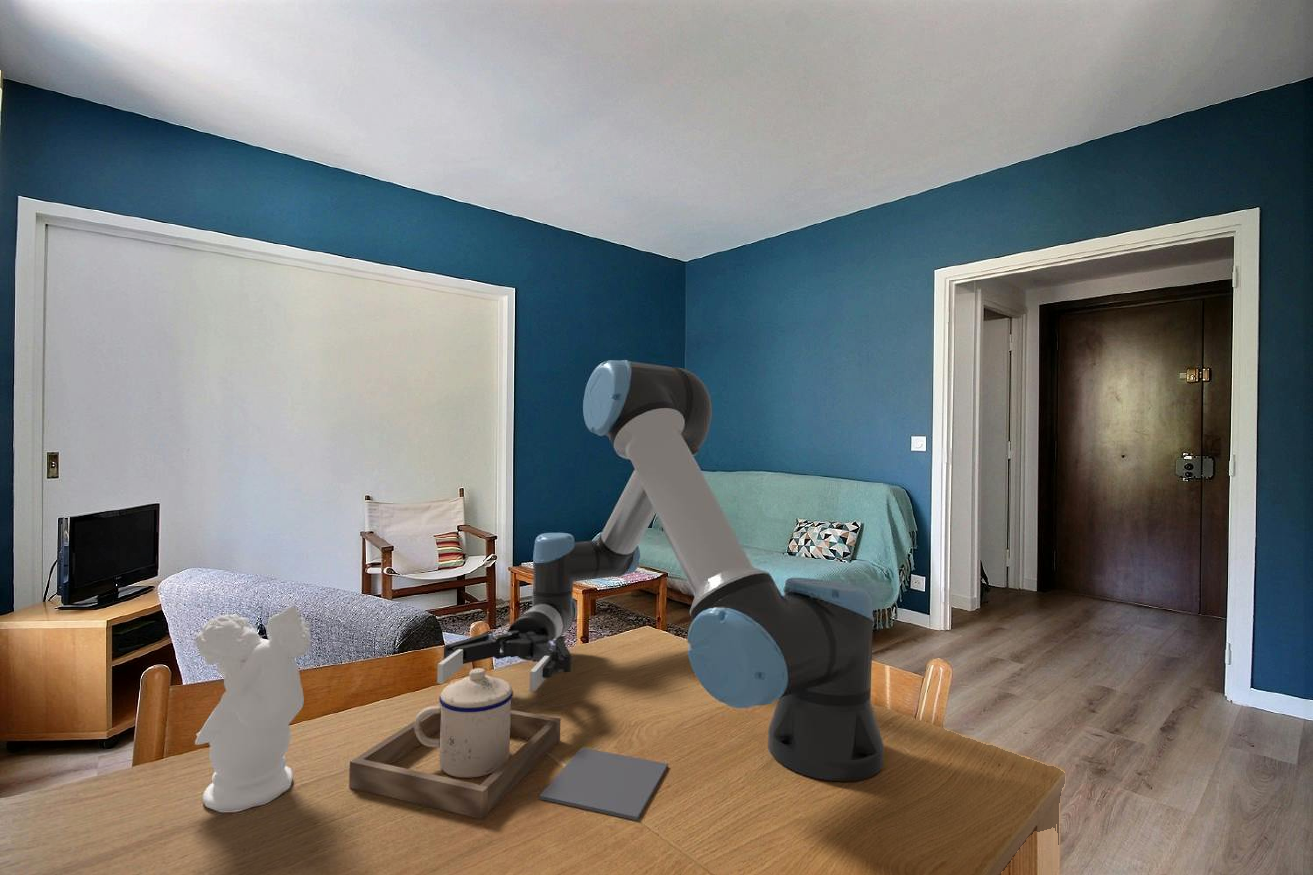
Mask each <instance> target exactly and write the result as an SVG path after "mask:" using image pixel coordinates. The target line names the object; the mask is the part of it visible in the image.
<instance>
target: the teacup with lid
mask: <svg viewBox="0 0 1313 875" xmlns="http://www.w3.org/2000/svg"><path fill="white" fill-rule="evenodd" d="M468 675H469V676H468ZM468 675H467V676H465V677H464V678H462V679H460V680H459V679H458V680H456V681H453V682H451V683H449V684H448V685H447V686H446V687H444V688H443V690H442V691H441V693H440V696H439V703H440V705H441V706H439V705H431V706H427V707H425V708H423V709H421V710H420V711H419V713H418V714H417V715H416V717H415V720H414V721H415V723H414V730H415V734H416V736H417V738H418V740H419V741H420V742H421V743H422V744H421V745H424V746H426V747H429V748H439V761H438V763H439V766H440V769H441V771H443V772H444V773H446V774H447V775H449V776H453V777H455V778H465V779H470V778H480V777H484V776H487V775H491V774H493V773H494V772H495V771H496V770H497V769H498V768H499V767H500V766H501V765H503V764H504V763H505V762H506V761H507V760H508V759H509V758H510V748H511V747H510V745H511V744H510V742H511V741H510V740H511V737H510V736H511V735H510V713H511V710H512V709H511V708H512V707H511V706H512V705H511V704H512V698H513V696H514V691H513V688H512V686H511V684H510V683H509V682H508V681H506V680H504V679H502V678H500V677H499V678H498V677H493V676H490V675H488V674H486V670H485V669H484V668H482V667H481V668H480V667H477V668H476V667H475V668H473V669H471V670H470V671H469V674H468ZM429 714H441V726H440V731H439V738H431V737H430V738H428V737H427V736H426V735H425V734H424V733H423V731H422V729H421V725H420V721H421V719H422V718H423V717H425V716H426V715H429Z"/></svg>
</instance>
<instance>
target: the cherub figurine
mask: <svg viewBox="0 0 1313 875" xmlns="http://www.w3.org/2000/svg"><path fill="white" fill-rule="evenodd" d="M300 616H301V611H300V610H297V605H296V603H294V604H292V605H291V606H288V607H287V608H286V609H284V610H283V611H281V612H280V613H277V614H274V615H273V616H271V617H270V618H269V619H268V620H267V623H266V624H267V625H266V632H267V634H264V635H259V634H258V632H257V631H256V629H255V628H254V626H253V625H252V624H251V623H249V621H250V619H249V618H248V617H241V616H238V614H237V613H234V614H233V613H232V614H228V613H226V614H219V615H217V616H216V617H215V618H214V617H213V618H211V619H209V621H207V622H206V623H205V624H204V625H202V626H201V629H200V631H199V632H198V634H196V635H195V638H194V644H195V645H196V647H197V650H198V653H199V656H200V657H202V658H204V661H205V663H206V664H207V665H215V664H217V668H216V670H217V673H218V674H219V675H220V676H222V677H224V678H223V685H224V689H225V692H223V694H222V696H221V698H220V700H219V702H218V704H217V705H216V706H215V707H214V709H213V710H212V712H211V714H210V715H209V717H208V718H207V720H206V721H205V723H204V724H203V726H202V728H201V729H200V731H199V732H197V733H196V734H195V736H196V739H195V741H194V745H195V746H196V745H199V746H200V745H203V744H206V743H208V745H209V751H208V753H209V754H208V757H209V761H210V764H211V766H212V769H213V770H214V772H213V774H212V777H211V782H212V783H210V784H209V785H208V786H207V787H206V789H205V790H204V792H203V794H202V801H203V803H204V806H205V807H207V808H208V809H211V810H214V811H216V812H219V813H238V812H241V811H244V810H248V809H250V808H253V807H258V806H262V805H267V804H268V803H271V801H273V800H275V799H277V798H278V797H279V796H280V795H282V794H283V793H285V792H286V791H287V790H289V789H290V787H291V786H292V783H293V778H294V773H293V770H292V768H290V767H289V766H287V759H286V757H285V754H286V752H288V751H287V750H288V749H289V746H290V740H291V727H290V723H292V722H293V720H294V719H295V717H296V716H297V715H298V713H300V712H301V710H302V708H303V706H304V698H305V696H304V691H303V686H302V682H301V677H300V670H299V665H298V663H297V661H296V658H297V657H298V658H301V657H302V656H305V655H306V654H307V653H308V652H309V651H311V649H312V646H311V645H312V641H311V640H312V639H311V633H310V631H311V628H309V627H310V623H309V621H307V619H306V618H305V617H300ZM306 621H307V622H306ZM264 636H267V637H268V639H265V638H263V637H264Z"/></svg>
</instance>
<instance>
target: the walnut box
mask: <svg viewBox="0 0 1313 875" xmlns="http://www.w3.org/2000/svg"><path fill="white" fill-rule="evenodd" d="M438 706H441V704H440V705H438ZM414 723H415V720H414V721H413V722H411V723H409V724H408V725H405V727H403V728H402V729H400V730H398V731H396V732H395V733H393V734H391V735H390V736H389V737H387V738H385V739H384V740H382V741H381V742H379V743H377V744H376V745H374V746H372V747H371V748H369V749H368V750H367V751H365V752H363V753H362V754H360V755H358V756H356V757H355V758H353V759H352V760H350V761H349V777H348V778H349V780H348V788H351V789H355V790H359V791H362V792H366V793H371V794H376V795H378V796H379V795H380V796H383V797H388V798H393V799H396V800H401V801H406V802H410V803H412V804H418V805H422V806H425V807H430V808H434V809H439V810H442V811H447V812H451V813H455V814H459V815H463V816H468V817H471V818H476V819H480V820H483V818H485V817H486V816H487V815H488V814H489V813H490V812H491V811H492V810H493V809H494V808H495V807H496V806H497V804H498V803H500V801H502V800H503V799H504V797H505V796H507V795H508V793H510V792H511V790H512V789H513V788H514V787H516V785H517V784H519V782H520V781H521V780H522V779H524V778H525V777H526V776H527V774H528V773H529V772H530V771H532V769H533V768H535V766H536V765H537V764H538V763H539V762H540V761H541V760H543V758H544V757H545V756H546V755H547V754H548V753H549V752H550V751H551V750H552V749H553V748H554V747H555V746H556V745H557V744H558V743H559V742H560V741H561V718H560V717H552V716H548V715H543V714H536V713H531V712H526V711H525V712H524V711H520V710H519V711H518V710H513V709H511V713H510V736H515V737H519V738H523V739H524V738H525V739H529V740H528V741H526V743H525V744H523V745H522V746H520V748H519V749H518V750H517V751H516V752H515V753H513V754H512V755H511V756H509V758H508V760H507V761H506V762H505V763H504V764H503V765H501V766H500V767H499V768H498V769H497V770H496V771H495V772H493V773H491V774H489V776H488V777H487V778H486V779H484V781H483V782H482V783H481V784H477V783H473V782H469V781H464V780H459V779H455V778H452V777H451V778H450V777H446V776H443V775H442V776H440V775H437V774H432V773H427V772H425V771H424V772H423V771H419V770H414V769H410V768H409V769H408V768H405V767H400V766H396V765H393V764H395V762H396V763H397V761H399V760H400V759H401V758H403V757H404V756H406V755H408V754H409V753H410V752H412V751H413V750H414V749H416V748H418V747H419V746H420V745H423V744H422V743H421V742H420V741H419V740H418V738H417V736H416V734H415V730H414ZM420 725H421V729H422V731H423V733H424V734H425V735H426V736H427V737H428V738H431V737H432V738H433V736H435V735H436V734H438V733H440V726H441V714H429V715H426V716H425V717H423V718H422V719H421V721H420Z"/></svg>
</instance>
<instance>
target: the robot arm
mask: <svg viewBox="0 0 1313 875" xmlns="http://www.w3.org/2000/svg"><path fill="white" fill-rule="evenodd" d="M589 376H590V377H589V378H588V381H587V383H586V387H585V390H584V395H583V396H584V397H583V402H582V403H583V405H582V409H583V410H582V411H583V412H582V413H583V419H584V423H585V426H586V427H587V429H588V430H589V431H590V433H592V434H596V435H597V436H600V437H602V436H607V437H608V439H609V440H610V443H611V445H612V447H613V449H614V451H615V453H616V454H617V455H618V456H619V457H621V458H623V459H625V460H630V461H631V464H632V466H633V468H634V470H633V471H632V474H631V476H630V477H629V479H628V482H627V483H626V485H625V487H624V489H623V491H622V493H621V495H620V497H619V499H618V501H617V503H616V504H615V506H614V508H613V511H612V512H611V515H610V517H609V518H608V520H607V522H606V524H605V526H604V528H603V529H602V531H601V533H600V535H599V536H598V538H597V539H596V540H588V541H586V540H585V541H575V537H574V536H573V535H572V534H570V533H567V532H566V533H565V532H544V533H540V534H539V535H538V536H537V537H536V538H535V540H534V548H533V557H532V560H533V563H532V564H533V566H532V567H533V576H532V578H533V579H532V580H533V583H532V585H533V586H532V596H531V597H532V599H531V600H532V602H531V604H532V606H531V607H530V608H529V609H528V610H526V611H525V612H524V613H523V614H521V615H520V616H519V617H518V618H516V619H515V620H514V621H513V622H512V623H511V625H510V626H509V628H508V630H507V632H506V633H502V634H499V635H498V634H497V635H494V632H493V631H492V630H486V631H485V632H483V633H481V634H479V635H476V636H472V637H469V638H465V639H461V640H459V641H455V642H452V643H449V644H445V645H444V646H443V658H442V660H441V661H440V662H439V663H437V680H436V681H437V682H436V683H437V684H444V683H445V682H446V681H447V680H449V678H452V676H453V675H455V674H456V673H457V672H459V671H460V670H461V669H462V668H463V667H464V666H463V665H464V664H469V663H473V662H478V661H481V660H486V659H487V660H488V659H490V658H495V659H496V660H500V659H504V658H505V659H506V658H508V657H510V658H514V657H517V658H518V659H521V660H524V661H531V662H533V663H536V664H535V666H533V668H532V669H531V670H530V671H529V692H536V691H537V689H538V688H539V687H540V686H541V684H542V683H543V682H544V681H545V679H550V678H552V677H553V676H554V674H557V673H559V671H562V672H563V673H565V674H569V673H571V671H572V654H571V653H570V650H569V649H568V647H567V645H566V643H565V641H566V640H565V638H566V637H565V636H563V634H565V633H566V632H568V631H569V630H570V629H571V627H572V625H573V623H574V622H575V620H576V617H577V615H578V606H577V603H576V601H575V599H574V596H573V591H574V590H573V588H574V583H577V582H582V581H589V580H597V579H606V578H618V577H622V576H624V575H629V574H633V573H634V572H635V571H636V570H637V569H638V568H639V565H640V559H641V552H640V551H641V550H640V548H639V543H640V542H641V540H642V538H643V537H644V535H645V532H646V531H647V530H648V528H649V526H650V524H651V523H652V521H653V519H654V517H655V515H656V518H657V520H658V521H659V524H660V525H661V528H662V530H663V533H664V534H665V537H666V539H667V541H668V542H669V545H670V547H671V549H672V551H673V554H674V556H675V557H676V560H677V562H678V564H679V567H680V569H681V570H682V573H683V576H684V577H685V578H686V581H687V584H688V586H689V588H690V590H691V592H692V594H693V596H694V598H693V600H692V604H691V606H690V610H689V615H690V618H691V620H692V622H691V624H690V626H689V629H688V632H687V639H686V640H687V643H688V644H689V645H690V646H689V647H688V649H687V655H688V660H689V663H690V666H691V667H692V671H693V672H694V674H695V677H696V679H698V681H699V683H700V685H701V686H702V687H703V688H704V690H705V691H706V692H707V693H708V694H709V695H710V696H711V697H712V698H714V699H715V700H716V701H718V702H720V703H722V704H725V705H726V706H728V707H731V708H735V709H749V708H753V707H756V706H767V705H771V704H772V703H774V702H775V701H777V703H776V707H775V709H774V712H773V715H772V717H771V720H770V723H769V726H768V730H767V732H768V733H767V737H768V738H767V747H768V750H769V753H770V755H771V756H772V757H773V758H774V760H776V761H777V762H778V763H780V764H781V765H783V767H786V768H787V769H790V770H792V771H794V772H795V773H798V774H801V775H804V776H806V777H807V776H808V777H810V778H814V779H819V780H824V781H830V782H831V781H832V782H857V781H861V780H865V779H868V778H869V779H870V778H871V777H874V776H875V775H877V774H878V773H879V772H880V771H881V770H882V769H883V766H884V742H883V739H882V736H881V732H880V729H879V726H878V725H879V724H878V722H877V719H876V715H875V712H874V708H873V706H872V700H871V698H872V697H871V694H872V663H873V662H872V660H873V658H872V657H873V635H874V634H873V632H874V629H873V628H874V622H875V617H874V616H873V613H874V612H873V610H874V609H873V599H872V596H871V595H870V593H869V592H867V591H866V590H865V589H863V588H860V587H857V586H854V585H852V584H847V583H841V582H838V581H837V582H836V581H831V580H827V579H826V580H825V579H817V578H810V577H808V578H807V577H789V578H787V579H786V580H785V584H784V587H783V592H784V594H782V593H781V592H780V589H779V588H778V586H777V584H776V582H775V580H774V579H773V577H772V574H771V573H770V572H769V571H766V570H763V569H760V568H757V567H753V564H752V562H751V560H750V558H749V557H748V556H747V554H746V552H745V550H744V548H743V546H742V544H741V542H740V541H739V540H740V539H738V537H737V535H736V533H735V531H734V529H733V528H732V525H731V524H730V522H729V519H728V518H727V516H726V515H725V513H724V511H723V509H722V507H721V505H720V502H719V501H718V500H717V498H716V496H715V493H714V492H713V490H712V488H711V487H710V484H709V483H708V481H707V480H706V477H705V475H704V474H703V472H702V470H701V468H700V466H699V464H698V462H697V460H696V459H695V457H694V456H696V455H698V453H699V450H700V449H701V448H702V445H703V444H704V442H705V440H706V439H707V438H706V437H708V436H707V435H708V434H709V430H710V427H711V422H712V416H713V415H712V414H713V409H712V408H713V407H712V401H711V400H712V399H711V397H710V396H711V395H710V393H709V392H708V388H707V387H706V385H705V384H704V383H703V381H702V380H701V378H699V377H698V376H697V375H696V374H695V373H693V372H692V371H690V370H687V369H685V368H682V367H677V366H665V365H657V364H650V363H644V362H638V361H630V360H627V359H623V360H618V359H617V360H616V359H615V360H614V359H612V360H611V359H609V360H606V361H603V362H601V363H600V364H599V365H597V366H596V368H595V369H594V370H593V371H592V373H591V375H589ZM488 632H489V633H488Z"/></svg>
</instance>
